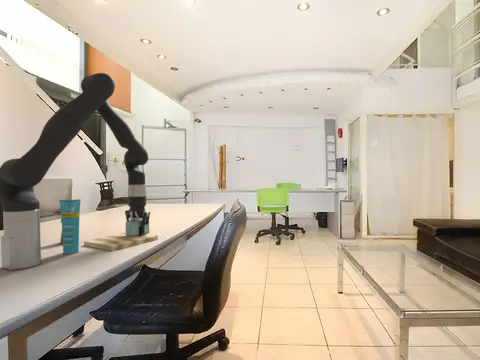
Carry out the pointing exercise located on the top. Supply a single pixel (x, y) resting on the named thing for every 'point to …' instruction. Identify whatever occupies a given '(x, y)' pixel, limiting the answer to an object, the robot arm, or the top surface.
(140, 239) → the board
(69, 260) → the top surface
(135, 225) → the block
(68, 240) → the tube
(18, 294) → the top surface
